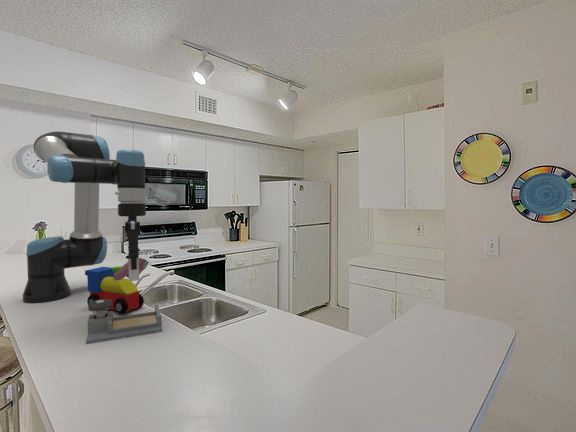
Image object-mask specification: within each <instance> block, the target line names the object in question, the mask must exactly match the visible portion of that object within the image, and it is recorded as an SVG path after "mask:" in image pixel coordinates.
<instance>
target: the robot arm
mask: <svg viewBox="0 0 576 432" xmlns="http://www.w3.org/2000/svg"><path fill="white" fill-rule="evenodd" d="M33 151H34V153H35V155H36V156H37V157H38V159H40V160H41V161H43V162H45V163H46V164H47V165H46V166H47V175H48V179H49V180H50V181H51V182H53V183H55V182H56V183H62V184H63V183H64V184H69V183H70V184H71V183H74V200H73V201H74V206H73V208H74V212H73V213H74V215H73V217H74V218H73V221H74V223H73V224H74V225H73V229H74V230H73V231H72V232H70V234H69V238H68V239H65V238H64V237H63V236H58V235H57V236H51V237H50V236H49V237H43V238H39V239H35V240H32V241H29V242H28V244H27V245H26V254H25V255H26V260H27V261H26V264H27V281H26V285H25V288H24V290H23V293H22V301H23V302H24V303H29V304H30V303H31V304H32V303H34V304H35V303H45V302H46V303H47V302H52V301H58V300H62V299H64V298H68V297H69V296H70V295H71V286H70V285H69V283H68V281H67V278H66V274H65V269H72V268H77V267H78V268H79V267H88V266H90V267H91V266H95V265H100V264H102V263H103V262H104V260H105V259H106V256H107V253H108V242H107V239H106V237H104V236H103V233H102V232H101V231H100V230H99V217H100V215H99V213H100V184H102V185H103V184H104V185H106V184H107V185H108V184H109V185H110V184H111V185H117V191H115V193H114V194H115V195H117V201H118V202H120V203H118V204H117V215H118V217H127V221H125V222H124V228H125V232H126V233H125V234H126V237H127V238H128V242H127V243H128V247H127V248H128V249H127V251H128V255H126V256H125V259H127V260H128V261H127V262H128V266H129V278H128V280H129V281H132V282H135V281H140V275H139V258H140V257H139V256H140V252H141V249H140V247H139V237H140V228H141V223H140V221H138V219H137V218H138V217H144V216H146V215H147V205H146V203H145V202H146V201H147V198H146V197H147V195H146V191H147V190H146V162H145V154H144V152H143V151H141V150H135V149H119V150H117V151H116V155H115V157H116V158H115V159H111V155H110V149H109V145H108V143H107V141H106V139H105V138H104V137H101V136H98V135H92V134H84V133H77V132H76V133H74V132H66V131H51V132H46V133H44V134H41V135H40V136H39V137H37V138H36V139H35V140H34V143H33Z"/></svg>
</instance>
